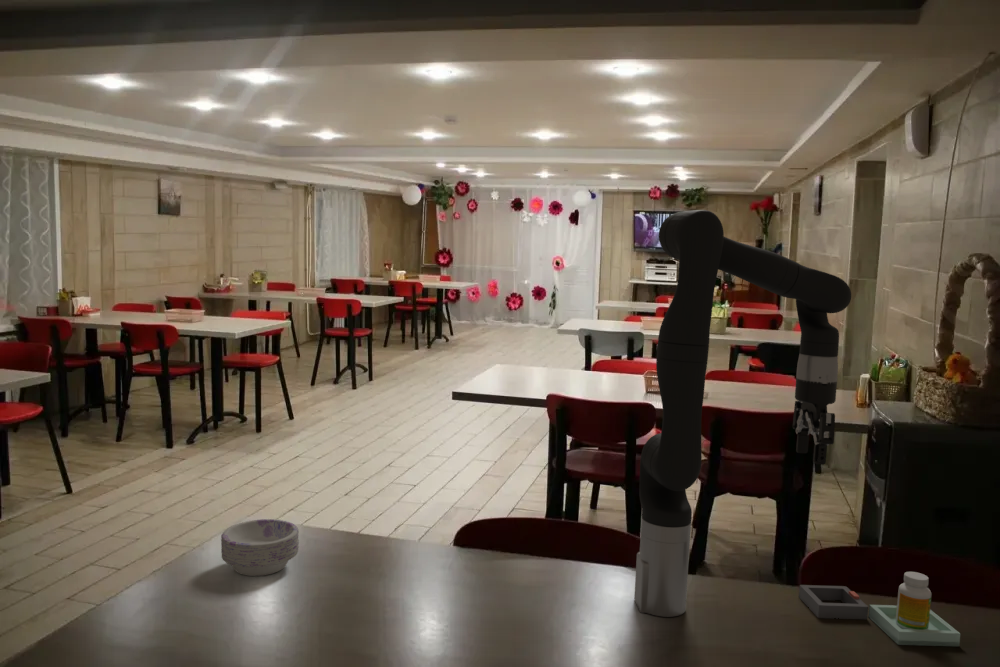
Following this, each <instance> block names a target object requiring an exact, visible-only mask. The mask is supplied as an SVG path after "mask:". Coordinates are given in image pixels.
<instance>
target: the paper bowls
mask: <svg viewBox="0 0 1000 667" xmlns="http://www.w3.org/2000/svg"><path fill="white" fill-rule="evenodd" d="M220 537H221V538H220V542H221V545H220V546H221V559H222V561H224V562H225V564H228V565H231V566H232V568H233V569H234V571H235V572H237V573H238V574H241V575H243V576H248V577H263V576H269V575H272V574H276V573H278V572H279V571H282V570H283V569H284V568H285V567H286V566H287V564H288V562H289V561H290V560H292V559H293V558H294V557H296V556H297V555H298V553H299V547H300V546H299V543H300V542H299V541H300V540H299V528H298V527H297V525H296V524H295V523H292V522H290V521H287V520H281V519H272V518H271V519H269V518H268V519H267V518H266V519H264V518H262V519H253V520H247V521H242V522H239V523H236V524H233V525H231V526H229V527H227V528H226V529H225V530H224V531H223V532H222V533H221V536H220Z"/></svg>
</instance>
